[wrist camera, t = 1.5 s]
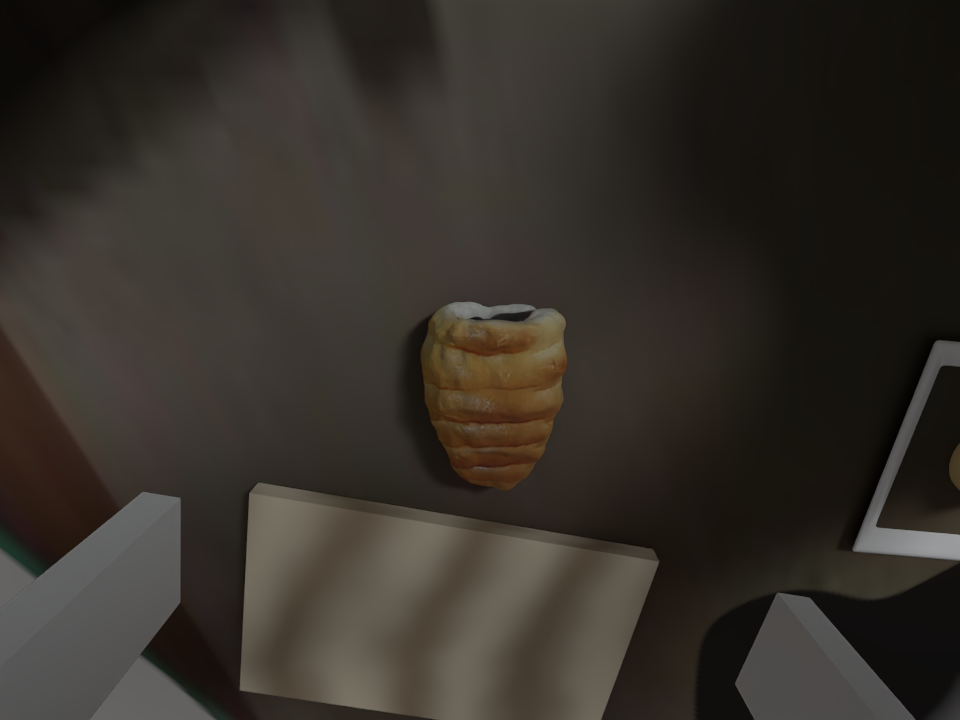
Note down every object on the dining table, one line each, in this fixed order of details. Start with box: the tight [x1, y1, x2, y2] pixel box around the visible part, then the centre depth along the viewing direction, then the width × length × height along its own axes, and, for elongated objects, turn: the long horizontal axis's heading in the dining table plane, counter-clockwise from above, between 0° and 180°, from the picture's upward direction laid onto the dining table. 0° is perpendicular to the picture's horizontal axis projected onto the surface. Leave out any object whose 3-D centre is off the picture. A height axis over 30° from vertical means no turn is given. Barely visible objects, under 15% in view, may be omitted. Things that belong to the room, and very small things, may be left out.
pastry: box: [421, 302, 567, 490], centre depth 22 cm, size 9×7×4 cm
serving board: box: [240, 482, 659, 720], centre depth 27 cm, size 22×14×1 cm, turn 79°
